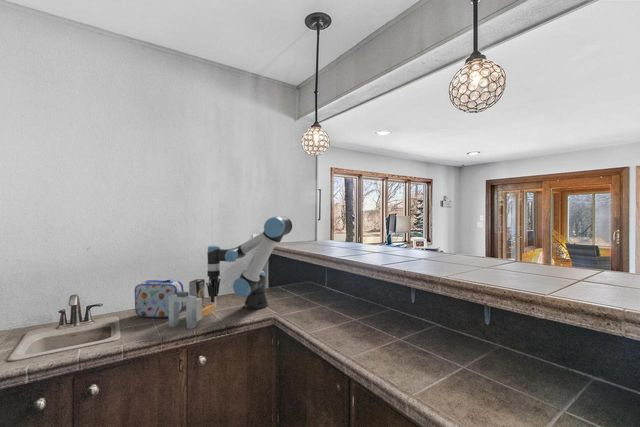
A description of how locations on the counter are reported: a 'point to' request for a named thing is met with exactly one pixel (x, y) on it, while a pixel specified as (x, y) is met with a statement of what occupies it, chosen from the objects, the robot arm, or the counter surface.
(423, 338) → the counter surface
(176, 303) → the housing
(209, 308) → the plug
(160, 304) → the lunch box
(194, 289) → the coffee box
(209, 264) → the robot arm
